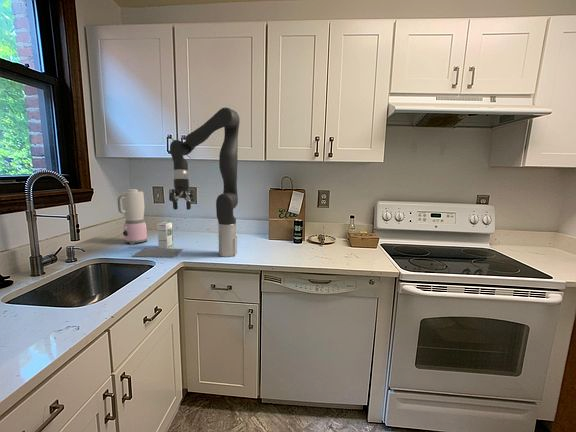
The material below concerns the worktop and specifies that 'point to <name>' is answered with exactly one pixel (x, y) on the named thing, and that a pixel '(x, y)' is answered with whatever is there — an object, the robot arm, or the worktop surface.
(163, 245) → the syrup box
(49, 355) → the worktop surface
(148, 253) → the slate mat
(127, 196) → the blender
